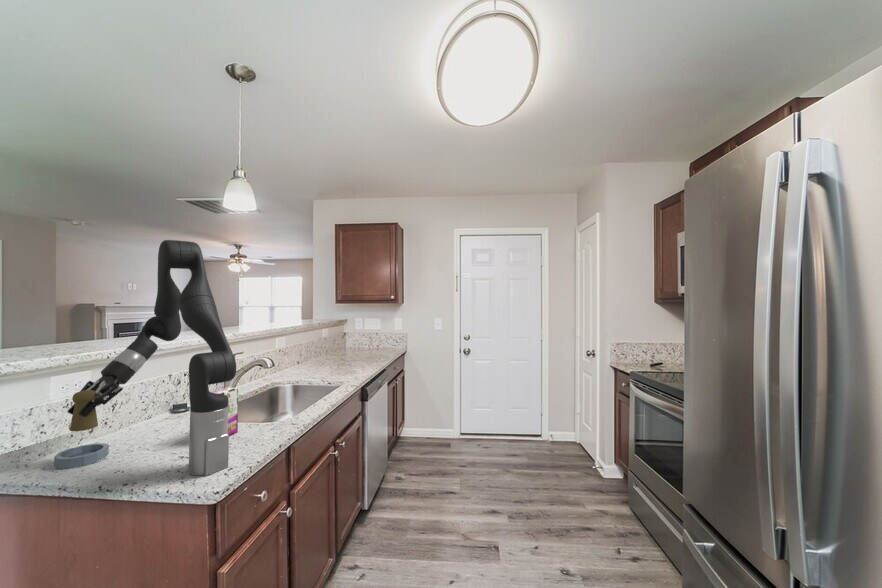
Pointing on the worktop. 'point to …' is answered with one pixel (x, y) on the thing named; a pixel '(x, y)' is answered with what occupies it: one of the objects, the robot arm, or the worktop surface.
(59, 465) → the dish
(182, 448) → the worktop surface
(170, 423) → the worktop surface
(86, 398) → the cork
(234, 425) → the candy bar box
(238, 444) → the worktop surface
